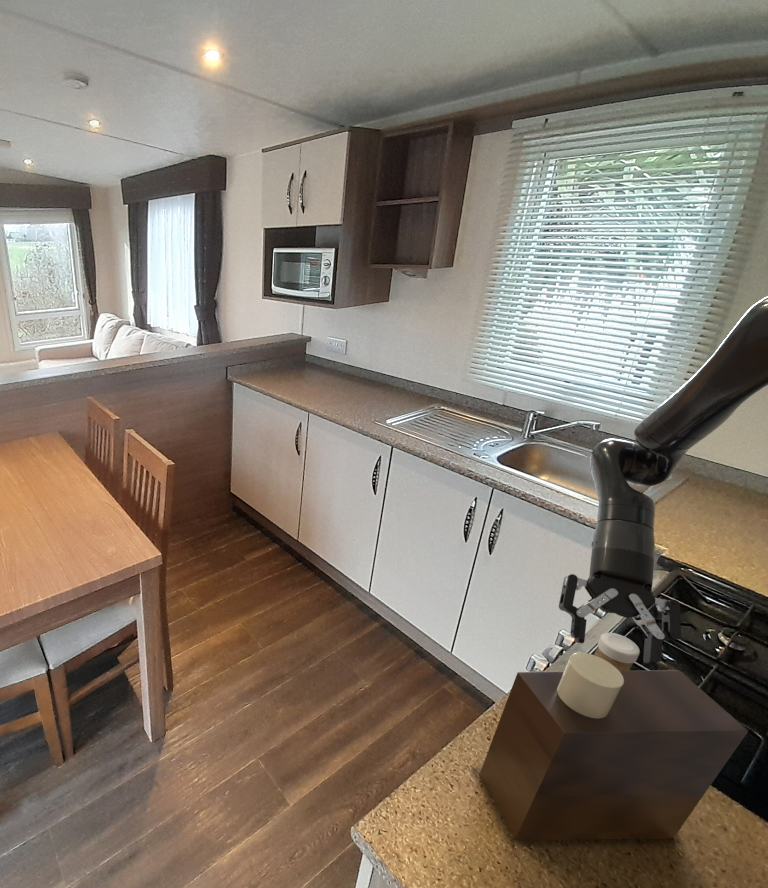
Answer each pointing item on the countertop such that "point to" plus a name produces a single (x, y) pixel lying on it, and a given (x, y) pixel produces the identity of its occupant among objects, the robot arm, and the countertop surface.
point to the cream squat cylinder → (590, 685)
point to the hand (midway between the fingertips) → (613, 652)
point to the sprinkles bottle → (617, 650)
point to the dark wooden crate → (606, 758)
